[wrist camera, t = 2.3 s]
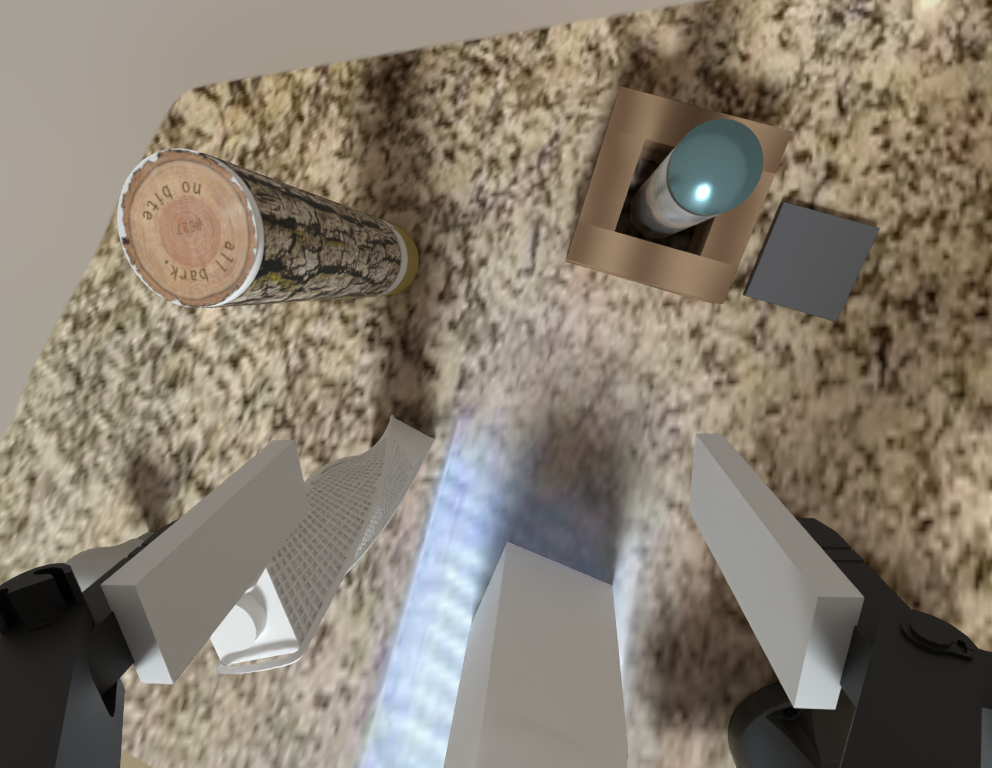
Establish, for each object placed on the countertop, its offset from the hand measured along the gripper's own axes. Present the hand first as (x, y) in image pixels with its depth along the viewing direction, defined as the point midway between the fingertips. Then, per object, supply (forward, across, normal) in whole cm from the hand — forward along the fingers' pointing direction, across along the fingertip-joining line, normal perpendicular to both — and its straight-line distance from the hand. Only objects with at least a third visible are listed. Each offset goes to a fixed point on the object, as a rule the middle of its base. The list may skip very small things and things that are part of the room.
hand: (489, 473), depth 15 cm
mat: (+30, -25, -3) cm, 39 cm away
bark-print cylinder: (+32, +13, -5) cm, 35 cm away
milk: (+27, -1, +32) cm, 42 cm away
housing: (+31, -13, -8) cm, 35 cm away
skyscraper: (+30, +13, +14) cm, 35 cm away
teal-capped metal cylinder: (+31, -13, -8) cm, 35 cm away
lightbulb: (+29, +44, +25) cm, 59 cm away
